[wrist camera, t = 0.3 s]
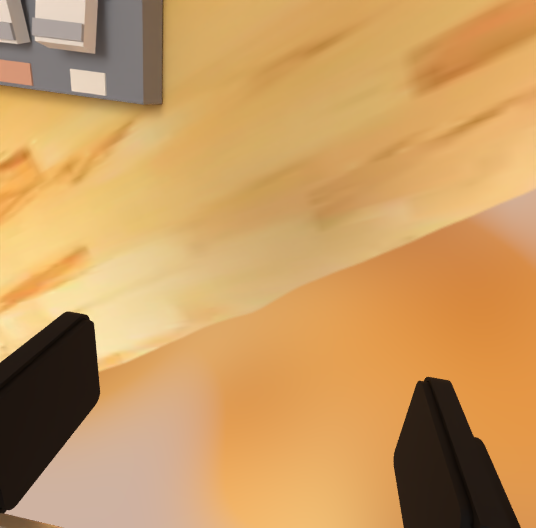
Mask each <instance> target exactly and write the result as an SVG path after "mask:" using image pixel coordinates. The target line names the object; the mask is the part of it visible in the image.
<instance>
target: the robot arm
mask: <svg viewBox="0 0 536 528" xmlns="http://www.w3.org/2000/svg"><path fill="white" fill-rule="evenodd" d="M99 395H100V386H99V376H98V363H97V352H96V341H95V330H94V323H93V321H90V319H89V317H88V316H87V315H85V314H79V313H74V312H65V313H63V314H62V315H61V316H59V317H58V318H57V319H56V320H54V321H53V322H52V323H50V324H49V325H48V326H47V327H45V328H44V329H43V330H41V331H40V332H39V333H38V334H36V335H35V336H34V337H33V338H31V339H30V340H29V341H27V342H26V343H25V344H24V345H22V346H21V347H20V348H18V349H17V350H16V351H15V352H13V353H12V354H11V355H10V356H8V357H7V358H6V359H4V360H3V361H2V362H1V363H0V528H62V527H59V526H54V525H50V524H46V523H42V522H37V521H33V520H29V519H25V518H20V517H16V516H12V515H8V514H4V513H5V512H6V510H11V509H13V508H14V507H15V506H16V505H17V504H18V503H19V501H20V500H21V499H22V498H23V496H24V495H25V494H26V493H27V491H28V490H29V489H30V487H31V486H32V485H33V484H34V482H35V481H36V480H37V479H38V477H39V476H40V475H41V473H42V472H43V471H44V470H45V468H46V467H47V466H48V464H49V463H50V462H51V461H52V459H53V458H54V457H55V456H56V454H57V453H58V452H59V451H60V449H61V448H62V447H63V446H64V444H65V443H66V442H67V440H68V439H69V438H70V436H71V435H72V434H73V433H74V431H75V430H76V429H77V428H78V426H79V425H80V424H81V423H82V421H83V420H84V419H85V418H86V416H87V415H88V414H89V412H90V411H91V410H92V409H93V407H94V406H95V405H96V403H97V401H98V399H99ZM394 470H395V476H396V482H397V488H398V495H399V500H400V507H401V513H402V519H403V525H404V528H521V527H520V525H519V523H518V521H517V518H516V516H515V514H514V511H513V509H512V507H511V505H510V502H509V500H508V497H507V495H506V493H505V491H504V489H503V486H502V484H501V481H500V479H499V477H498V475H497V472H496V470H495V468H494V465H493V463H492V461H491V459H490V456H489V454H488V452H487V450H486V447H485V445H484V444H483V442H482V441H481V440H480V439H479V438H476V437H474V436H473V434H472V432H471V429H470V427H469V425H468V422H467V420H466V417H465V415H464V412H463V410H462V408H461V405H460V403H459V400H458V398H457V396H456V393H455V391H454V388H453V386H452V384H451V382H450V381H448V380H443V379H437V378H432V377H426V378H425V380H424V381H418V383H417V384H416V387H415V391H414V393H413V397H412V400H411V403H410V406H409V409H408V412H407V415H406V418H405V421H404V424H403V427H402V431H401V433H400V437H399V440H398V443H397V446H396V449H395V452H394Z"/></svg>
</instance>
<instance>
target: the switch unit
mask: <svg viewBox="0 0 536 528" xmlns="http://www.w3.org/2000/svg"><path fill="white" fill-rule="evenodd" d="M35 2H36V0H21V5H22V9H23V13H24V17H25V21H26V25H27V30H28V34H29V38H30V42H28V43H22V44H12V43H5V42H0V85H6V86H13V87H20V88H27V89H35V90H42V91H49V92H56V93H64V94H71V95H78V96H85V97H93V98H100V99H107V100H114V101H122V102H129V103H136V104H143V105H144V104H162V9H163V0H98V8H97V28H96V47H95V54H93V53H85V52H77V51H69V50H61V49H53V48H48V47H46V46H44V45H42V44H40V43H38V42H36V41H35V36H33V35H32V18H35Z"/></svg>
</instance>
